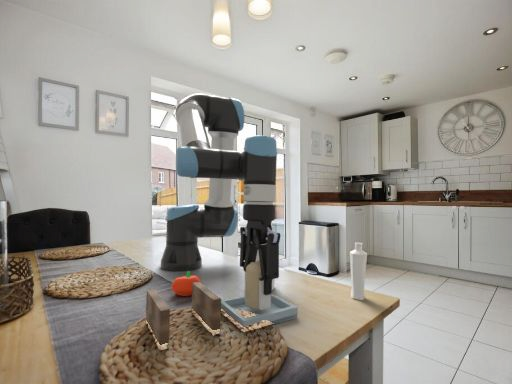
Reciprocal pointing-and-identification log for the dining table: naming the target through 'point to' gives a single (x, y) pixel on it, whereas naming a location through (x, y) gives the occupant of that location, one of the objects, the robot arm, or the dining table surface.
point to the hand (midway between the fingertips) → (257, 303)
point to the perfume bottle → (358, 271)
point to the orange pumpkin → (184, 284)
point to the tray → (260, 311)
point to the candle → (252, 285)
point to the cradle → (202, 304)
